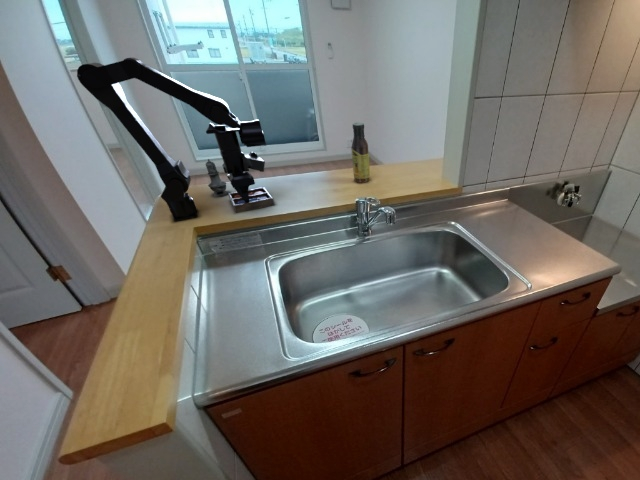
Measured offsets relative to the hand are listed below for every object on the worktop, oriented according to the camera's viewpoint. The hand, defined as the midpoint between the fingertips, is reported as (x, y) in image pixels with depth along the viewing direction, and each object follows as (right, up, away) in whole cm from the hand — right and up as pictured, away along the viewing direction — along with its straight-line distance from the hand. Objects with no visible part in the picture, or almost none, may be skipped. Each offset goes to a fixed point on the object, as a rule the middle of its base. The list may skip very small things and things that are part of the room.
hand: (246, 200), depth 105 cm
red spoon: (-1, +3, +5) cm, 6 cm away
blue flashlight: (+2, 0, +2) cm, 2 cm away
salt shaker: (-14, +5, +10) cm, 18 cm away
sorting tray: (0, 0, +4) cm, 4 cm away
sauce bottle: (+35, +14, +20) cm, 43 cm away
